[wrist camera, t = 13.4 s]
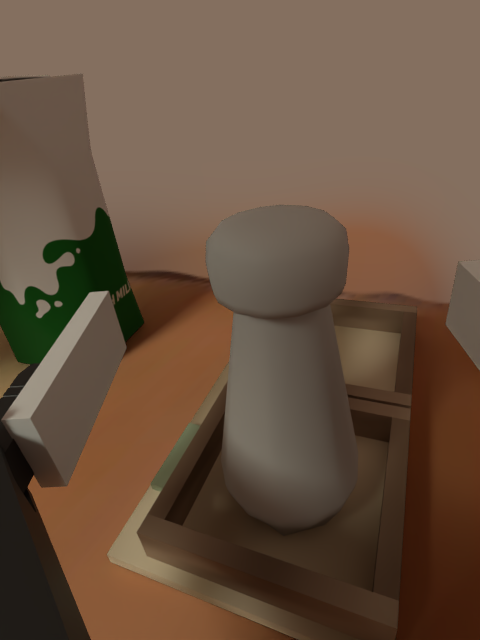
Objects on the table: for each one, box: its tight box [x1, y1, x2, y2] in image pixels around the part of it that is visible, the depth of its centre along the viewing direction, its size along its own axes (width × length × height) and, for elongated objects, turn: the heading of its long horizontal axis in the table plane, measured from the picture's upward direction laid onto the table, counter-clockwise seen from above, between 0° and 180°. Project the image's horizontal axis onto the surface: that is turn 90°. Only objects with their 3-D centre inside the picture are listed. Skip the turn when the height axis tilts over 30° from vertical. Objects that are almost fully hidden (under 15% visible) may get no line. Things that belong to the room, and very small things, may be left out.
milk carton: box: [0, 74, 144, 364], centre depth 27 cm, size 9×9×20 cm
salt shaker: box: [206, 205, 358, 536], centre depth 15 cm, size 6×6×13 cm
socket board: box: [107, 299, 417, 640], centre depth 22 cm, size 11×20×2 cm, turn 159°
